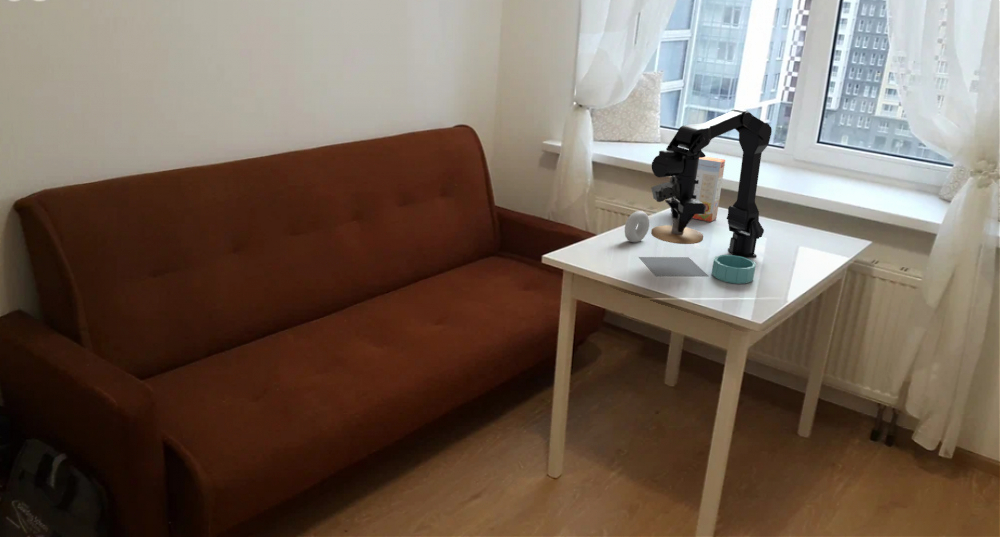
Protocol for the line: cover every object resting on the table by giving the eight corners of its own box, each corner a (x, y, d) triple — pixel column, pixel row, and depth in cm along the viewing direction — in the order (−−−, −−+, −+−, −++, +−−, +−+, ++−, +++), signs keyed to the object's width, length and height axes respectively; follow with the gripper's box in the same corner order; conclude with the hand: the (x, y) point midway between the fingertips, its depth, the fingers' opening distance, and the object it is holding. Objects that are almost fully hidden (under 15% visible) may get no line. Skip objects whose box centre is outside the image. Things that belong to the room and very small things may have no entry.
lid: (691, 228, 216) (693, 212, 214) (711, 244, 203) (713, 227, 201) (644, 227, 214) (646, 211, 212) (661, 243, 201) (663, 226, 199)
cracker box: (716, 218, 261) (726, 159, 253) (711, 222, 256) (720, 161, 249) (678, 211, 268) (686, 152, 260) (671, 214, 263) (680, 155, 255)
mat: (688, 258, 220) (688, 257, 220) (708, 277, 206) (708, 276, 206) (638, 258, 218) (638, 256, 217) (655, 277, 204) (655, 276, 204)
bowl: (741, 271, 212) (744, 255, 211) (759, 286, 202) (762, 268, 201) (705, 271, 211) (708, 254, 209) (721, 286, 201) (724, 268, 199)
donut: (629, 247, 227) (633, 214, 224) (620, 243, 229) (624, 212, 226) (649, 241, 234) (653, 209, 230) (640, 238, 236) (644, 207, 232)
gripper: (645, 165, 210) (639, 219, 215) (668, 182, 193) (661, 240, 198) (684, 166, 211) (676, 219, 217) (710, 183, 194) (701, 240, 200)
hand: (677, 229), depth 208 cm, fingers closed on lid, 3 cm apart
